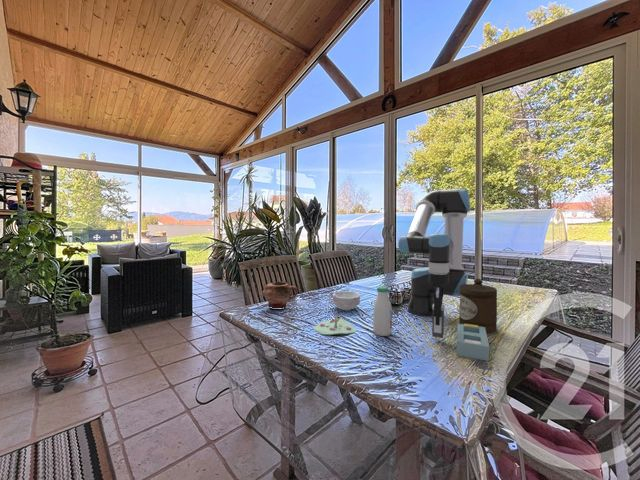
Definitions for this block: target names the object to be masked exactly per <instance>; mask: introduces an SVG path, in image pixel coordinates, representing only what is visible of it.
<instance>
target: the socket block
mask: <svg viewBox="0 0 640 480" xmlns="http://www.w3.org/2000/svg"><path fill="white" fill-rule="evenodd" d="M456 329H457V330H456V331H457V333H456V356H459V357H465V358H470V359H476V360H481V361H487V362H489V361H490V344H489V340H488V339H489V338H488V335H487V334H488V333H486V330H485V327H480V326H478V325H471V324H459V323H457V328H456Z"/></svg>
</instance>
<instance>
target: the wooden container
mask: <svg viewBox="0 0 640 480" xmlns="http://www.w3.org/2000/svg"><path fill="white" fill-rule="evenodd" d="M497 296H498V289H497V288H496V287H494V286H491V285H485V284H483V279H480V278H475V279H474V280H473V283H472V284H471V283H467V284H465V285H461V286H460V296H459V311H458V312H459V313H458V314H459V321H458V324H471V325H478V326H480V327H485V330H486V334H491V333H495V332H496V331H497V328H498V326H497V323H498V321H497V319H498V298H497Z"/></svg>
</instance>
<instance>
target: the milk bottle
mask: <svg viewBox="0 0 640 480" xmlns="http://www.w3.org/2000/svg"><path fill="white" fill-rule="evenodd" d="M376 291H377V292H376V293H377V296H376V298H375V301H374V303H373V313H372V314H373V315H372V316H373V317H372V319H373V321H372V323H373V325H372V326H373V328H372V331H373V333H374V335H376V336H381V337H388V336H391V335H392V333H393V332H392V330H393V329H392V328H393V327H392V326H393V324H392V323H393V318H392V317H393V314H392V313H393V312H392V311H393V310H392V309H393V308H392V303H391V300H390V298H389V295H388V294H389V288H388V287H387V286H384V285H383V286H378V287H377V288H376Z"/></svg>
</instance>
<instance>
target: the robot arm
mask: <svg viewBox="0 0 640 480" xmlns="http://www.w3.org/2000/svg"><path fill="white" fill-rule="evenodd" d="M415 211H416V212H415V214H414V217H413V219H412V222H411V224H410V226H409V228H408V232H407V234H406V235H403V236H400V237H398V238H399V239H398V243H397V244H398V246H397V247H398V250H399V252H401V253H404V254H420V255H421V254H423V255H425V254H426V255H428V266H426V267H418V268H415V269H412V271H411V276H410V279H411V285H410V286H411V287H410V291H411V294H410V298H409V301H408V304H407V312H408V313H410V314H413V315H415V316H423V317H424V316H426V317H427V316H428V317H432V316H433V317H434V332H435V333H441V323H442V317H441V305H443V299H444V296H451V297H460V286H461V285H465V284H468V279H469V274H468V273H467V272H465V271H466V269H465V268H464V267H463V266H462V265H463V264H462V263H463V241H464V238H463V237H464V219H465V218H466V217H467V216H468V213H470V212H471V200H470V194H469V190H468V189H466V188H463V189H462V188H454V189H452V188H451V189H440V190H438V189H437V190H433V191H430V192H427V193H426V194H425V195H424V196H422V197H421V198H420V199H419V200H418V202H417V204H416V207H415ZM436 213H441V217H443V218H444V233H440V232H439V233H436V232H435V233H430V235H428V236H425V235H426V232H427V229H428V227H429V224H430V221H431V218H432V216H434V214H436ZM433 304H434V315H432V313H433V310H432V306H433Z"/></svg>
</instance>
